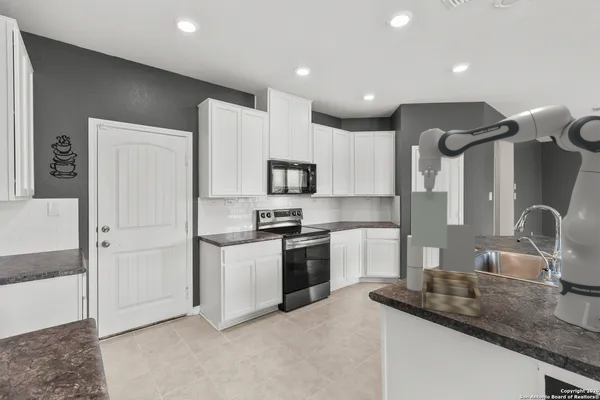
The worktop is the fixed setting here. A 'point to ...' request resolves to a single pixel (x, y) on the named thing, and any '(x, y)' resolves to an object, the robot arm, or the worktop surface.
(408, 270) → the cylindrical container
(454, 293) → the offcut boards
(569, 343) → the worktop surface
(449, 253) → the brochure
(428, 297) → the box
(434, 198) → the grey green flat block
